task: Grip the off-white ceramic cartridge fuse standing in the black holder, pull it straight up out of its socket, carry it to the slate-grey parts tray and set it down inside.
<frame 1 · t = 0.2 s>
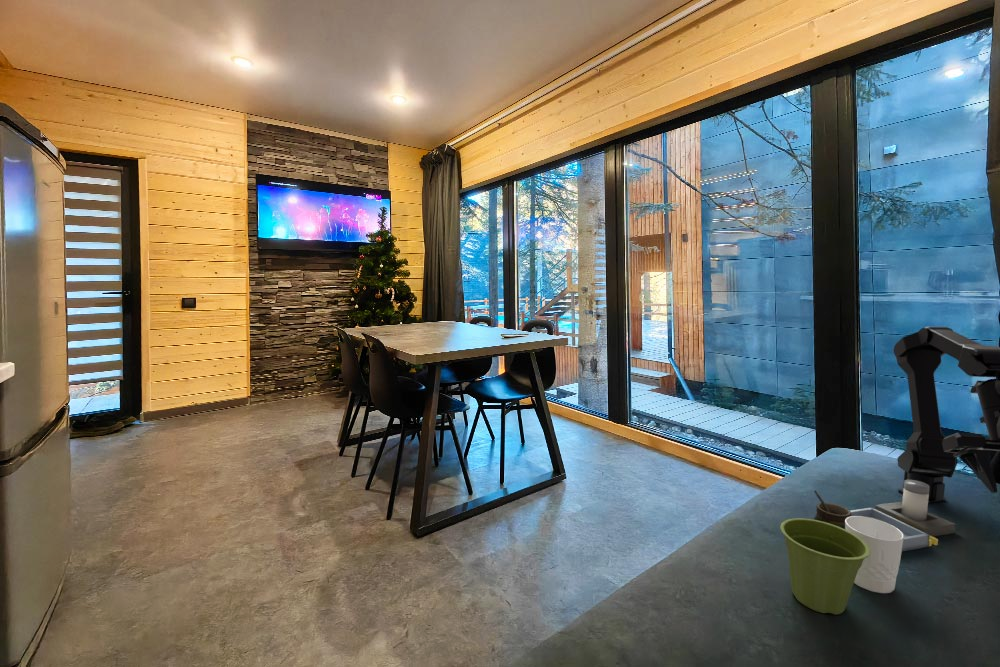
tray: (880, 534, 92), on the table
puller tool: (908, 533, 92), on the table
holder: (912, 522, 96), on the table
fuse: (914, 503, 96), in the holder
mate gourd: (829, 547, 88), on the table
white cup: (868, 581, 78), on the table
plant pot: (818, 601, 73), on the table
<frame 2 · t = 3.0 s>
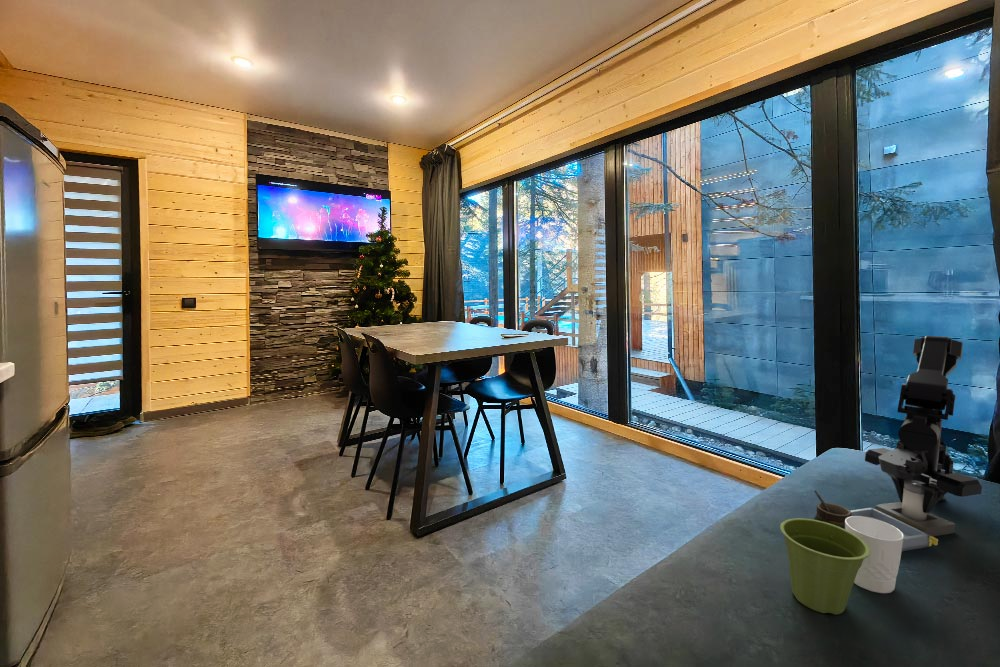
hand: (914, 507, 96), 4 cm above the table, tool pointing down, fingers closed on fuse, 4 cm apart
fuse: (914, 503, 96), in the holder, touching gripper
everything else where it was.
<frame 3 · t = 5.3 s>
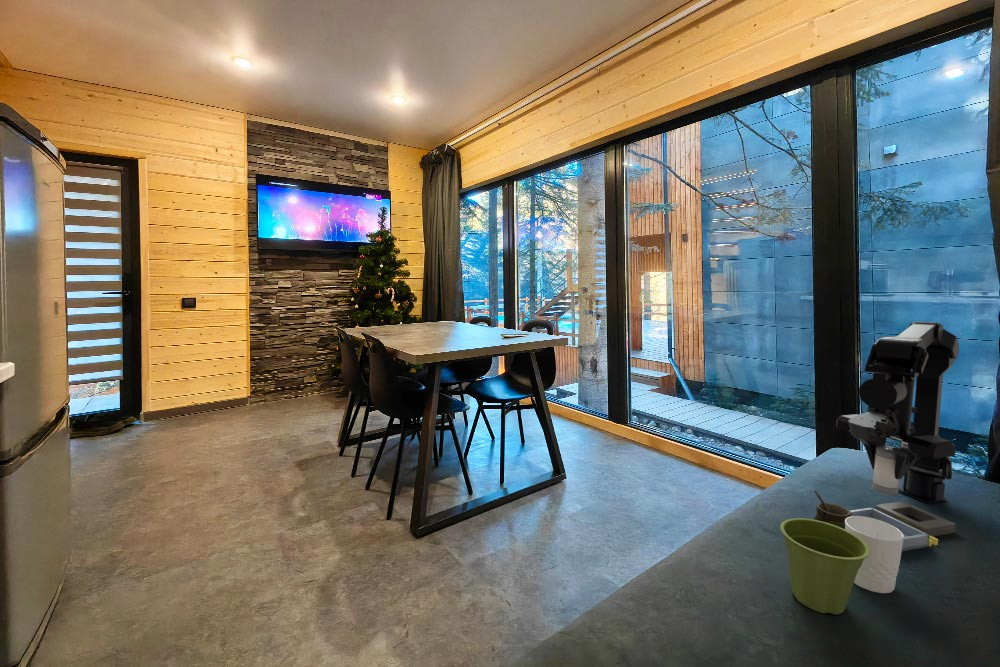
hand: (886, 474, 91), 13 cm above the table, tool pointing down, fingers closed on fuse, 4 cm apart
fuse: (887, 469, 91), point 14 cm above the table, touching gripper
everything else where it was.
when the fingers open (5 cm above the table, at t = 7.5 s): fuse stays where it is, resting on tray.
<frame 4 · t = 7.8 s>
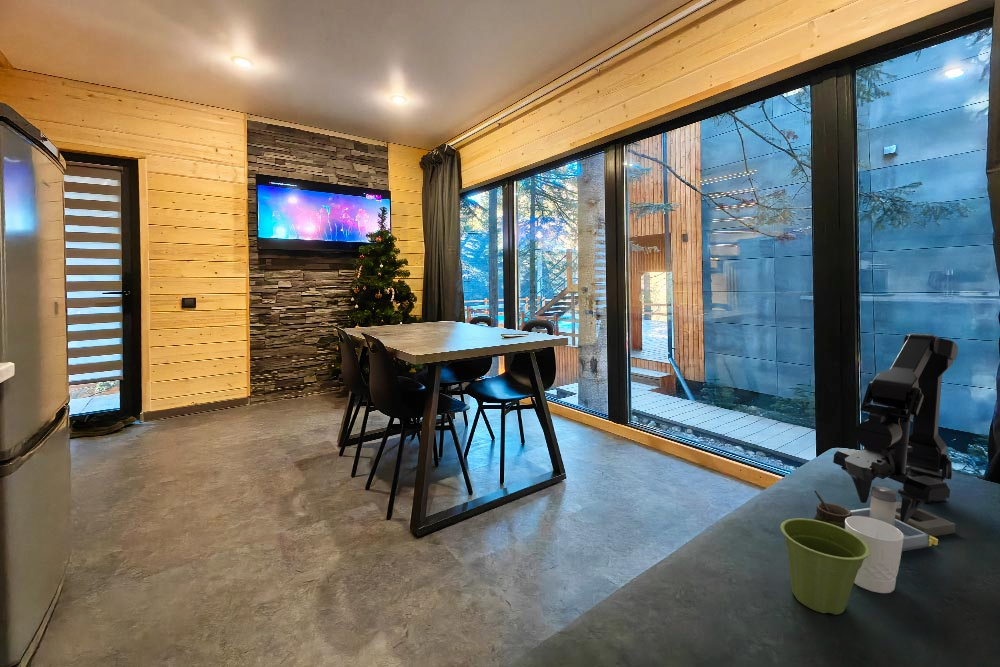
hand: (882, 511, 92), 5 cm above the table, tool pointing down, fingers open, 8 cm apart
fuse: (882, 511, 92), in the tray, point 5 cm above the table
everything else where it was.
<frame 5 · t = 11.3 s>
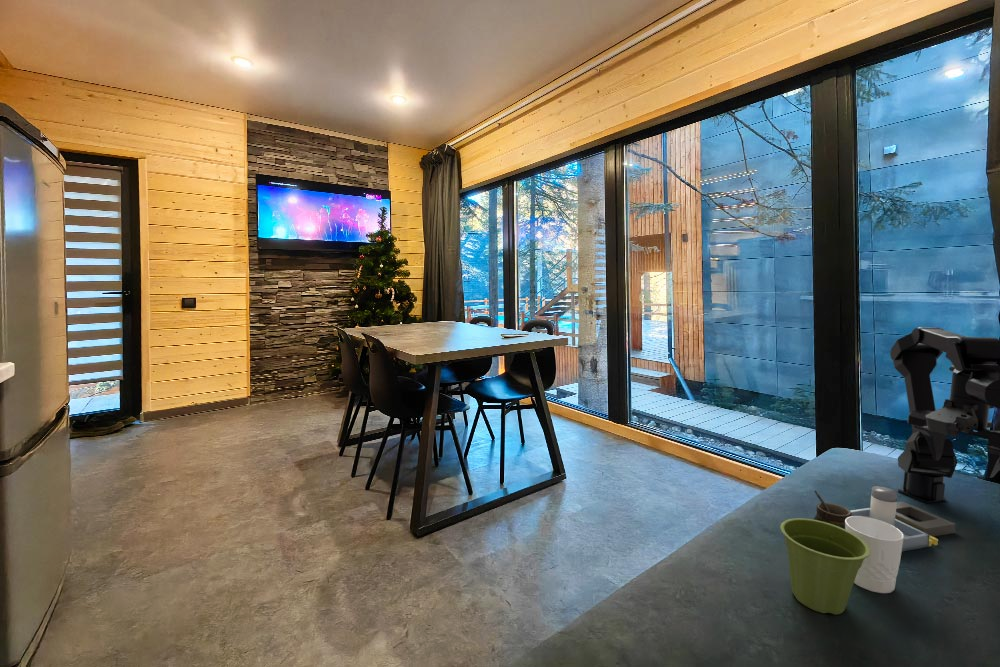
hand: (962, 468, 94), 13 cm above the table, tool pointing down, fingers open, 9 cm apart
nothing on the table moved.
at the end: fuse inside the target area on the tray (0.0 cm from its centre), point 5.1 cm above the tray's base; the gripper is holding nothing; fuse moved 11.7 cm from its start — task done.
